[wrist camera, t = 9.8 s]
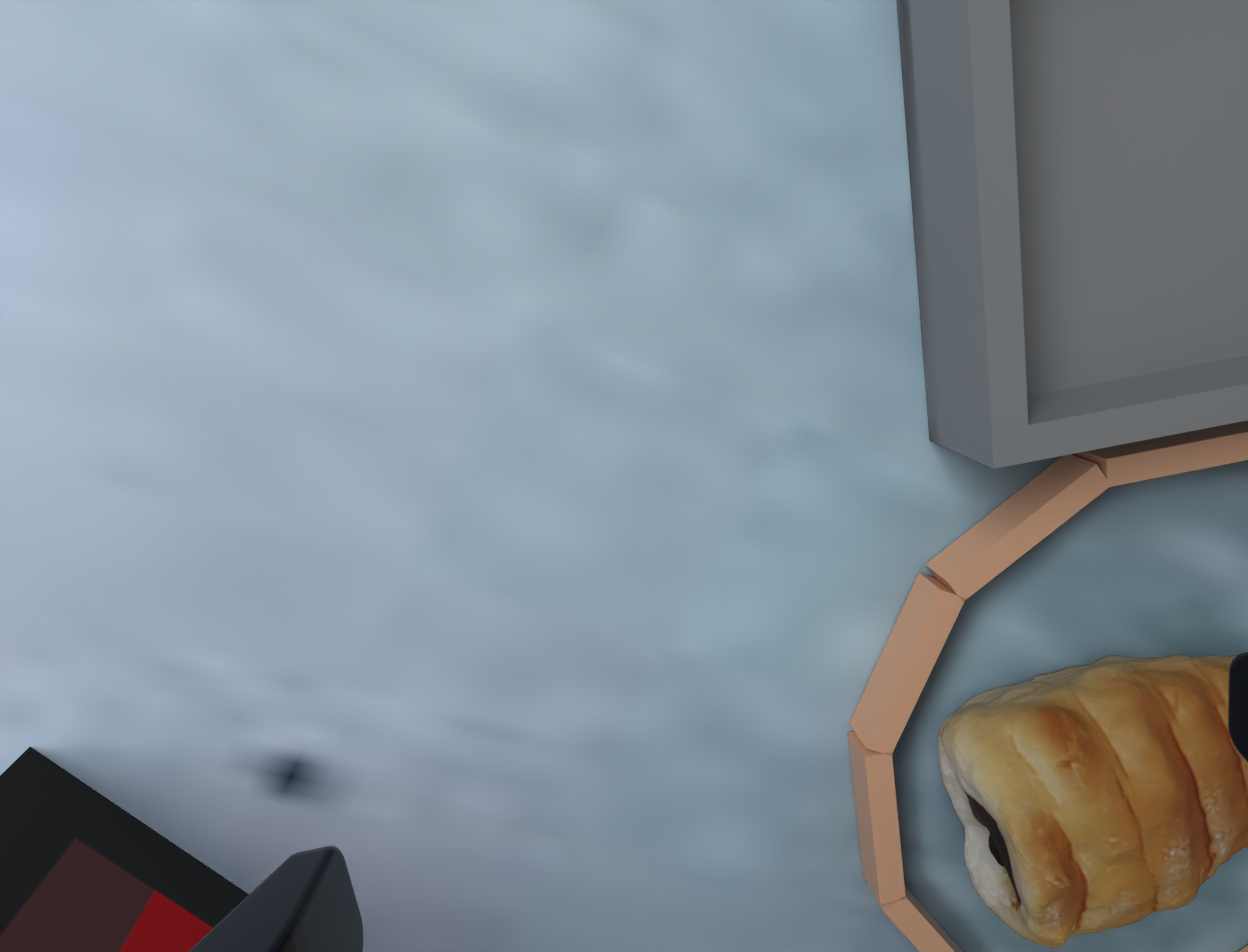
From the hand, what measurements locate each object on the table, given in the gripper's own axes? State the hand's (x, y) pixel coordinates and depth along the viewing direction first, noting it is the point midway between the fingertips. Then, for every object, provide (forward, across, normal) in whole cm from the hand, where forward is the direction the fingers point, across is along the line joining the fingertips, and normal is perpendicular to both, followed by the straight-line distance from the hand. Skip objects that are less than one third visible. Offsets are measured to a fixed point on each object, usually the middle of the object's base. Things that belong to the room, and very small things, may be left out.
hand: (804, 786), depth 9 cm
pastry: (+13, -13, +12) cm, 22 cm away
